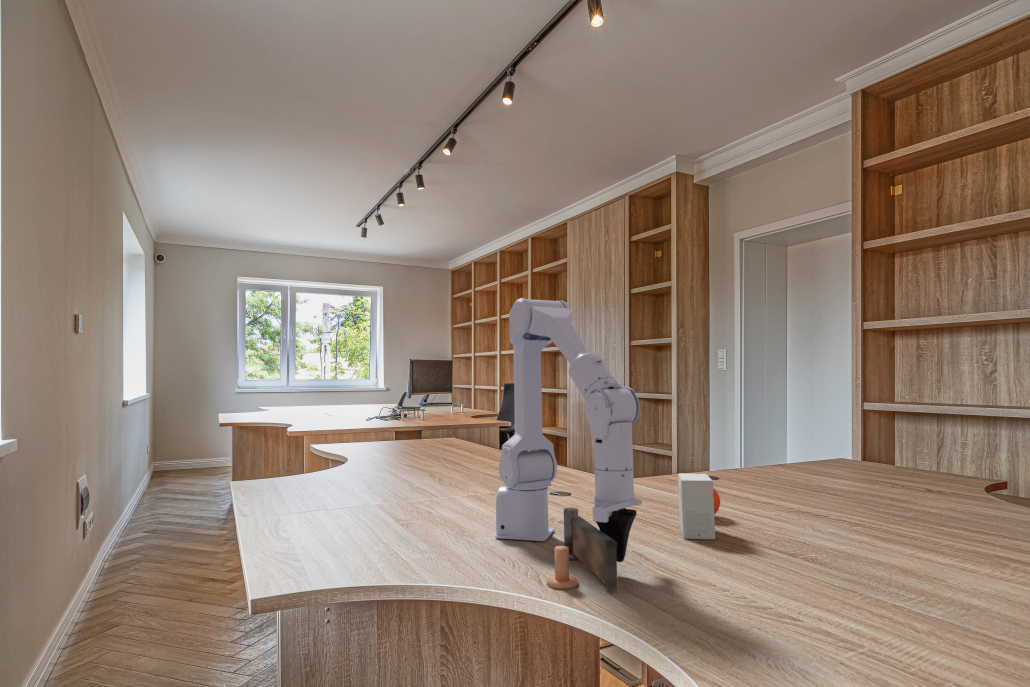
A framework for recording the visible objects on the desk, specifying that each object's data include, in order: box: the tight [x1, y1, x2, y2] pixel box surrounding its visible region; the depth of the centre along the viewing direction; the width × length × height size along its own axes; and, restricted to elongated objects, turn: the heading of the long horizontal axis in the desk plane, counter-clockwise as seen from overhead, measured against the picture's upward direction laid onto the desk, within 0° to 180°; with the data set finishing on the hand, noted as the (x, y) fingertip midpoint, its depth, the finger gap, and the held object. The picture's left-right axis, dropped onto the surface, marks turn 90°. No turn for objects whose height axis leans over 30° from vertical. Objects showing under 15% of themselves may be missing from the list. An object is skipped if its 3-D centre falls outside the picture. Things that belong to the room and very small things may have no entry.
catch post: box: [546, 545, 579, 590], centre depth 82 cm, size 4×4×5 cm
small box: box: [677, 472, 716, 540], centre depth 106 cm, size 8×6×10 cm
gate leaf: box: [570, 515, 618, 590], centre depth 85 cm, size 15×2×6 cm, turn 13°
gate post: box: [563, 507, 581, 561], centre depth 95 cm, size 5×5×8 cm
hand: (616, 560), depth 85 cm, fingers closed
